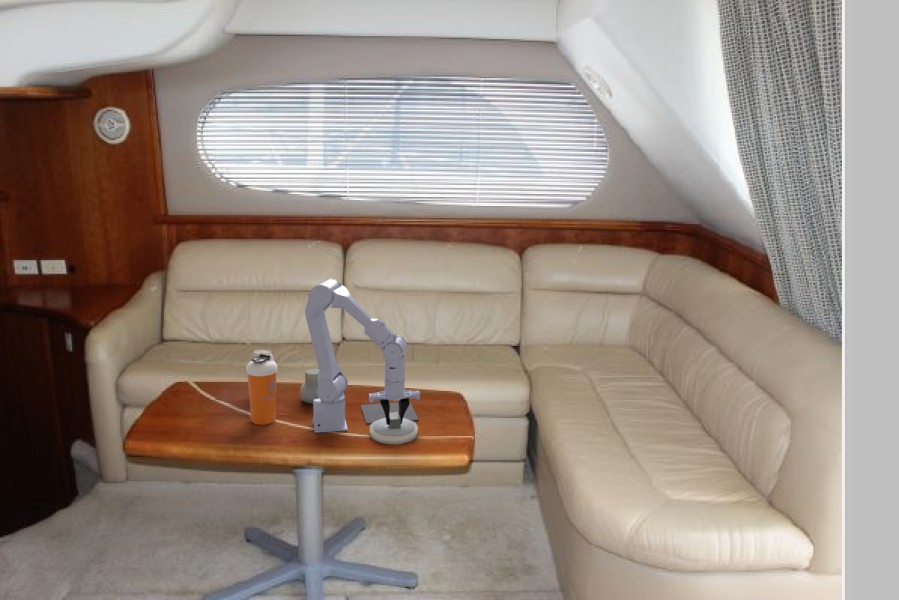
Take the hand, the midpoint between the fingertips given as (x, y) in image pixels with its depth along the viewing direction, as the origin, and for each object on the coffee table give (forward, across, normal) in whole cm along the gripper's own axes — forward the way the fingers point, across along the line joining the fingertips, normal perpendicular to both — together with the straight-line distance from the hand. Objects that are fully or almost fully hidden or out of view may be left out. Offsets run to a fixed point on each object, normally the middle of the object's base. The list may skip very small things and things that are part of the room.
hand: (394, 423), depth 211 cm
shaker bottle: (+4, -37, +16) cm, 40 cm away
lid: (+1, 0, 0) cm, 1 cm away
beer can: (+4, -37, +36) cm, 52 cm away
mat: (+3, +1, +15) cm, 15 cm away
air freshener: (+4, -21, +29) cm, 36 cm away
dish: (+3, 0, 0) cm, 3 cm away
